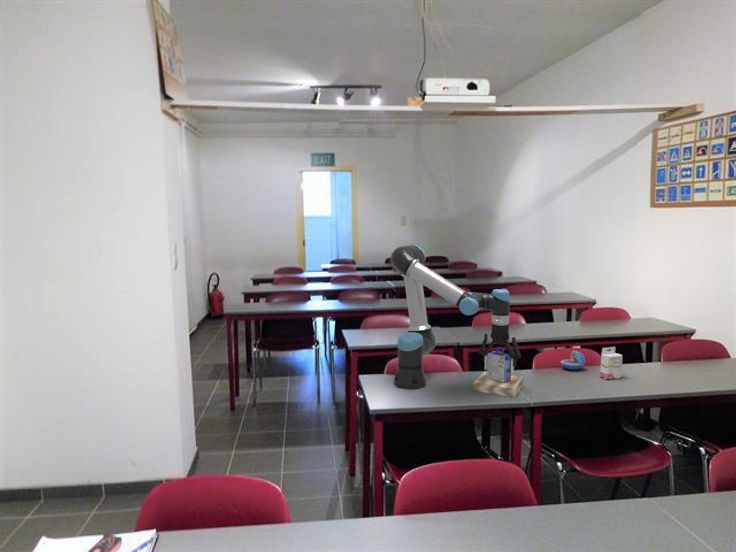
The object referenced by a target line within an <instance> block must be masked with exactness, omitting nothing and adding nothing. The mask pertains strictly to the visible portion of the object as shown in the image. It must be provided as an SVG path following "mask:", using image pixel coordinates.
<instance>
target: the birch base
mask: <svg viewBox="0 0 736 552" xmlns="http://www.w3.org/2000/svg"><path fill="white" fill-rule="evenodd" d="M523 386H524V376H518V375H512V374H511V381H508V382H504V383H503V382H500V381H496V380H493V379H489V378H487V371H486V370H484V372H482V374H481V375H480V376H479V377H478V378H477V379H475V380H474V382H473V392H479V393H483V394H490V395H496V396H503V397H509V398H515V397H516V396H517V395H518V393H519V392H520V390H521V389H522V388H523Z"/></svg>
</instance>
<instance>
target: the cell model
mask: <svg viewBox="0 0 736 552" xmlns="http://www.w3.org/2000/svg"><path fill="white" fill-rule="evenodd" d="M569 358H570V359H569ZM569 358H568V359H562V360H560V363H561V365H562V366H563V367H564V368H565V369H566V370H567V369H568V370H571V371H576V370H579V369H581V368H583V366H584V365H585V363H586V358H585V355H584V354H583V353H582V352H580V351H578V350H573V351H572V352H571V354H570V357H569Z"/></svg>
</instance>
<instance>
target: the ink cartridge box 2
mask: <svg viewBox="0 0 736 552" xmlns="http://www.w3.org/2000/svg"><path fill="white" fill-rule="evenodd" d="M622 368H623V354H621V353H616V347H615V346H610V347H602V349H601V355H600V375H599V377H600V378H601V377H603V378H606V379H611V378H617V377H618V378H619V377H621V378H622V371H623V370H622ZM603 378H602V379H603ZM606 379H605V380H606Z"/></svg>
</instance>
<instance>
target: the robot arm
mask: <svg viewBox="0 0 736 552" xmlns="http://www.w3.org/2000/svg"><path fill="white" fill-rule="evenodd" d="M390 263H391V265H392V267H393V269H395V270H396V271H398V272H399V273H400V276H402V278H403V280H404V287H405V295H406V296H405V297H406V302H407V310H408V311H407V312H408V318H409V327H408V328H407V333H406V332H404V333H401V335H399V336H398V338H397V344H396V345H397V369H396V372H395V375H394V379H393V384H394V386H396V387H398V388H400V389H405V390H417V389H423V388H424V387H426V386H427V378H426V375H425V371H424V368H423V367H424V366H423V365H424V364H423V363H424V360H423V358H424V357H425V356H427V355H429V354H431V352H432V351H434V349H435V347H436V345H437V337H436V335H435V333H434V332H433V329H432V326H431V325H430V324H429V323H428V316H427V309H426V308H427V307H426V299H425V293H424V286H425V287H426V288H428V289H429V290H431V291H432V292H434V293H436V294H437V295H439V296H440V297H442V298H443V299H445V300H446V301H448V302H449V303H451V304H452V305H454V306H455V307H457V308H458V309H459V310H460V312H461V313H462V314H463V315H466V316H471V315H475V314H476V313H478V312H479V311H481V310H483V311H484V310H485V311H491V332H490V333H488V332H486V333H485V334H484V335H483V337H484V339H483V341H482V343H481V346H480V347H479V351H478V354H480V355H482V362H483V363H484V371H486V370H487V360H488V352H490V350H491V348H493V346H494V345H502V346H504V347H505V348H506V350H507V352H508V354H510V355H511V356H512V357H511V375H512V374H514V372H515V367H516V366H517V360H519V359H520V358H521V357H522V355H521V352H520V349H519V346H518V343H517V337H516V335H514V336H511V335H510V333H509V332H510V325H509V324H510V305H511V304H510V302H511V299H510V298H511V297H510V291H509V290H507V289H503V288H501V289H500V288H499V289H497V288H495V289H493V290H492V292H491V293H487V292H485V293H484V292H475V291H474V292H470V291H469V292H467V291H465V290H464V289H462V288H460V287H459V286H457V285H456V284H454V283H452V282H451V281H450V280H448V279H446V278H444V276H441V275H440V274H438V273H437V272H435V271H434V270H432V269H430V268H429V267H427V266H425V263H426V253H425V250H423V249H422V248H421V247H420V246H418V245H414V244H411V245H405V246H402V245H401V246H399V247H396V248H395V249H394V250H393V251H392V253H391V255H390ZM490 338H491V340H492V341H491V342H490V343H489V345H488V346H487V347H486V345H487V342H488V340H489V339H490ZM509 340H510V342H511V343H512V346H511V345H510V343H509ZM485 347H486V349H485ZM512 347H513V348H512Z"/></svg>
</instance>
